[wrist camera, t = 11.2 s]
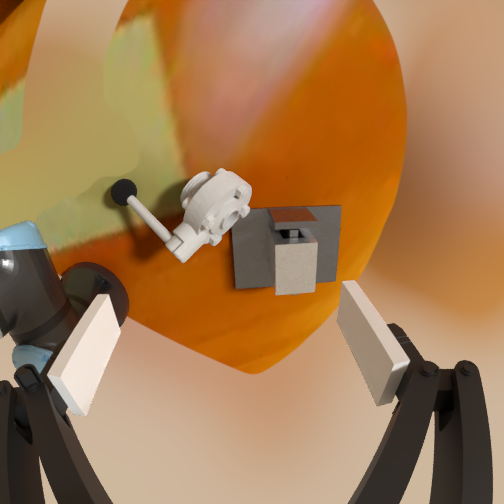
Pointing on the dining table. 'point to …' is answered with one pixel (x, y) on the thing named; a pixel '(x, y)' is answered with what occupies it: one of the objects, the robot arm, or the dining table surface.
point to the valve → (195, 210)
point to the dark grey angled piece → (287, 222)
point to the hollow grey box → (293, 262)
